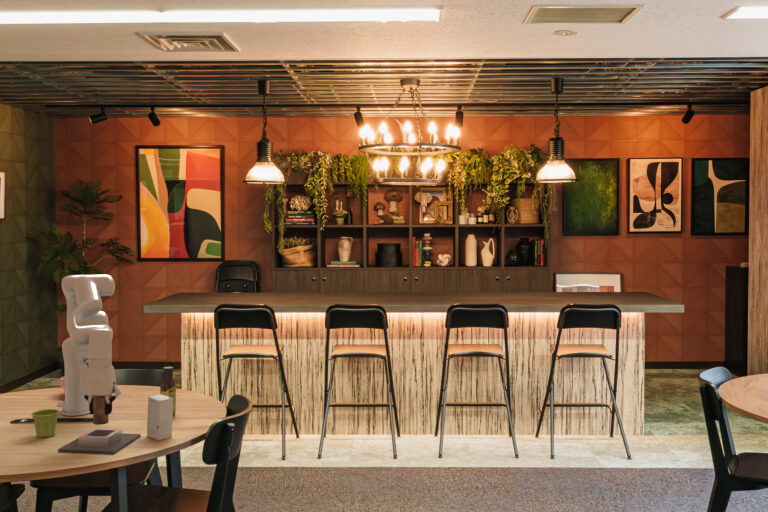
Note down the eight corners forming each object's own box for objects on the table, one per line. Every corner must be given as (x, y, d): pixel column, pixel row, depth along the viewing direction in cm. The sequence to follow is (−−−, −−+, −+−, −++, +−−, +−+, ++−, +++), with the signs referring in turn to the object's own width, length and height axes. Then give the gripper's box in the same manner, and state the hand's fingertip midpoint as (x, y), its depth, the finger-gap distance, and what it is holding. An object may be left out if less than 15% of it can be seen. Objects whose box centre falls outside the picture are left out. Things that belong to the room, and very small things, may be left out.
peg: (90, 424, 239) (90, 396, 239) (97, 420, 244) (97, 393, 244) (103, 424, 239) (103, 396, 238) (111, 421, 244) (110, 393, 243)
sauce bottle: (170, 418, 276) (170, 369, 275) (156, 417, 277) (156, 368, 276) (178, 413, 282) (178, 366, 282) (165, 413, 284) (164, 365, 283)
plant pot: (41, 441, 245) (40, 417, 244) (26, 436, 250) (25, 413, 249) (65, 434, 253) (65, 411, 252) (50, 430, 258) (50, 407, 257)
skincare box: (146, 436, 251) (146, 396, 251) (161, 432, 256) (161, 393, 256) (159, 441, 246) (158, 400, 246) (173, 437, 251) (173, 397, 250)
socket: (58, 452, 233) (57, 440, 233) (88, 434, 253) (88, 424, 253) (113, 454, 231) (113, 442, 231) (140, 436, 251) (140, 426, 251)
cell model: (97, 388, 327) (97, 365, 326) (103, 397, 310) (103, 372, 309) (58, 392, 318) (58, 368, 318) (63, 401, 301) (62, 376, 301)
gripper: (71, 364, 238) (72, 415, 238) (118, 365, 236) (118, 417, 237) (83, 360, 245) (83, 410, 246) (128, 361, 244) (128, 411, 244)
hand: (100, 413), depth 241 cm, fingers closed on peg, 5 cm apart
